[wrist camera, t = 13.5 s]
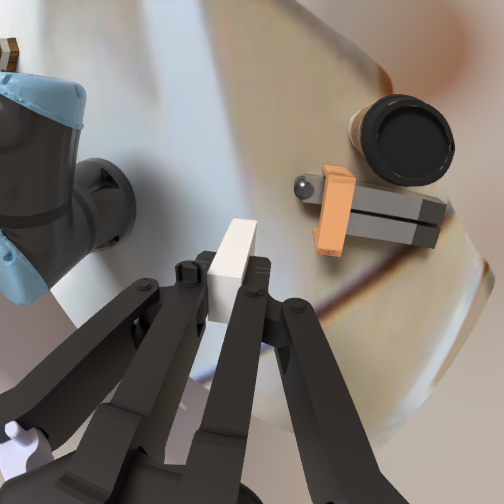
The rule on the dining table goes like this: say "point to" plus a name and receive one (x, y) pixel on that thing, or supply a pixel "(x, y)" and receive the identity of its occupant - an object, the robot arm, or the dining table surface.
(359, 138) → the coffee cup
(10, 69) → the mug
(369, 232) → the tong arm
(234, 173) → the dining table surface
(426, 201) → the tongs fixed
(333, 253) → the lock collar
